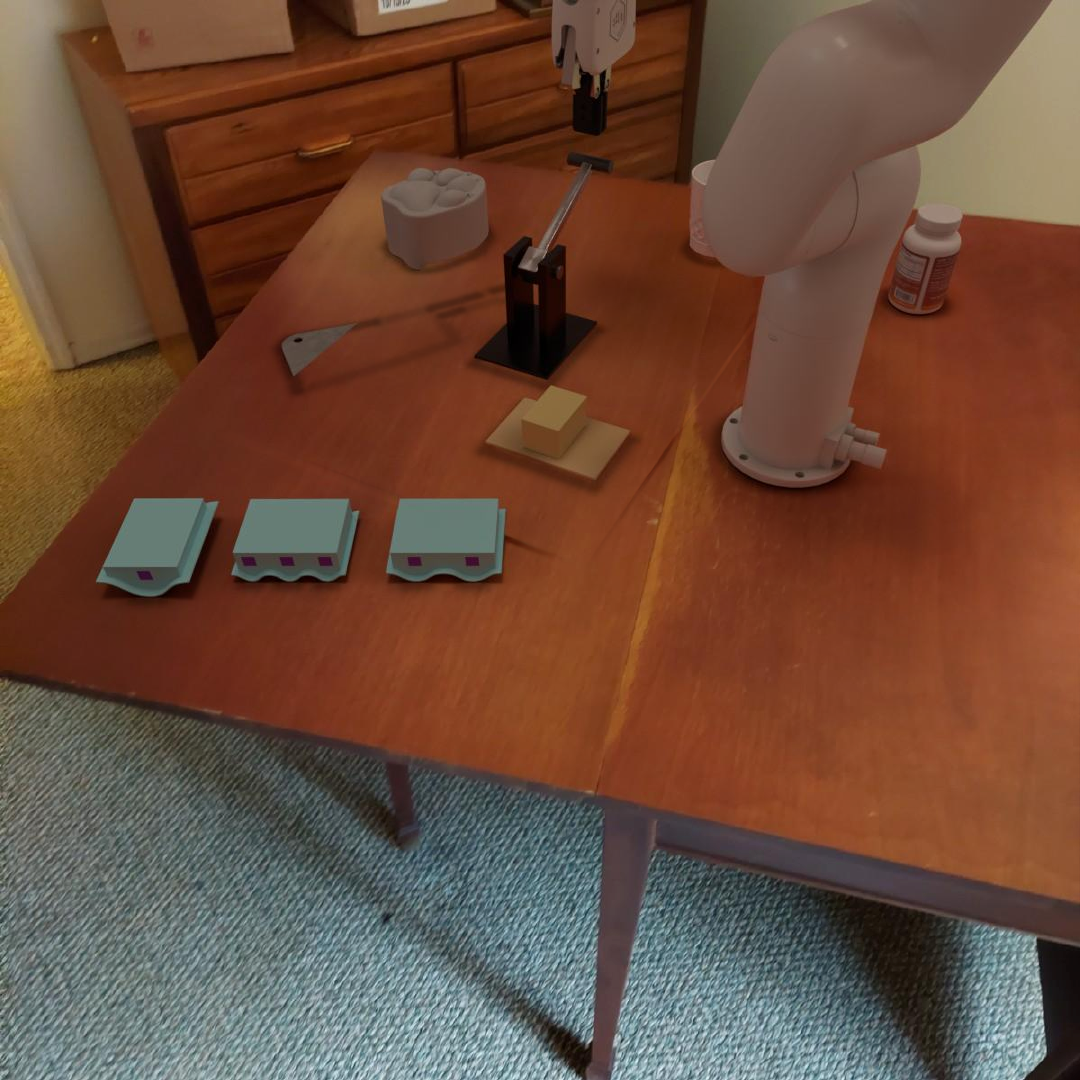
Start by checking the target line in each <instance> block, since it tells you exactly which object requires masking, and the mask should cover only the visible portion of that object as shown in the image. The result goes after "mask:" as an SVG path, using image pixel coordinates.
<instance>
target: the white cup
mask: <svg viewBox="0 0 1080 1080" xmlns="http://www.w3.org/2000/svg"><path fill="white" fill-rule="evenodd" d="M715 160H716V159H710V160H706V161H703V162H700V163H698V164H697V165H695V166H694V167H693V169H692V170H691V180H690V181H691V182H690V201H689V202H690V203H689V234H690V235H689V247H690V248H691V249H692V250H693V252H696V253H698V254H699V255H702V256H704V257H711V258H715V259H716V257H715V256H714V255H713V253H712V252H711V250H710V248H709V246H708V244H707V241H706V238H705V234H704V229H703V223H702V203H703V196H704V191H705V187H706V183H707V180H708V177H709V174H710V172H711V169H712V167H713V165H714V162H715Z"/></svg>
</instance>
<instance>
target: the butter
mask: <svg viewBox="0 0 1080 1080" xmlns="http://www.w3.org/2000/svg"><path fill="white" fill-rule="evenodd" d="M536 401H537V402H536V403H535V404H534V405H533V406H532V407H531V409H530V410H529V411H528V412H527V413H526V414H525V415H524V417H523V418H522V419H521V422H522V446H523V447H524V448H527V449H529V450H532V451H535V452H538V453H541V454H544V455H547V456H550V457H553V458H556V459H559V458H560V457H561V456H562V455H563V453H564V452H565V451H566V450H567V448H568V447H569V446H570V445H571V443H572V442H573V441H574V439H575V438H576V437H577V436H578V434H579V433H580V432H581V431H582V429H583V428H584V427H585V426H586V423H587V417H588V415H587V414H588V396H587V395H584V394H581V393H577V392H574V391H571V390H568V389H564V388H561V387H558V386H556V385H555V386H554V385H550V386H549V387H548V388H546V390H545V391H544V392H543V394H542V395H541V396H540V397H539V398H538V399H537V400H536Z"/></svg>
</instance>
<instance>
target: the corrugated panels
mask: <svg viewBox="0 0 1080 1080" xmlns="http://www.w3.org/2000/svg"><path fill="white" fill-rule="evenodd" d="M219 503H220V502H219V500H215V501H209V502H206V501H205V498H203V497H201V498H199V497H194V498H193V497H191V498H190V497H185V498H184V497H183V498H182V497H181V498H180V497H178V498H177V497H176V498H174V497H173V498H167V497H166V498H163V497H162V498H159V497H158V498H157V497H155V498H151V497H150V498H149V497H148V498H146V497H145V498H139V497H138V498H137V497H135V498H133V501H132V502H131V505H130V507H129V509H128V511H127V513H126V516H125V518H124V520H123V522H122V524H121V527H120V529H119V530H118V533H117V535H116V537H115V539H114V540H113V541H114V542H113V543H112V546H111V548H110V550H109V552H108V555H107V557H106V559H105V561H104V563H103V565H102V567H101V570H100V572H99V574H98V576H97V577H96V580H95V583H96V584H97V583H99V584H106V585H107V584H108V585H111V586H113V587H117V588H119V589H121V590H123V591H125V592H128V593H130V594H132V595H136V596H139V597H145V598H146V597H147V598H153V597H159V596H163V595H164V594H166V593H167V592H168V591H169V590H170V589H171V588H173V587H174V586H177V585H181V584H189V583H190V581H191V578H192V575H193V573H194V570H195V567H196V565H197V562H198V559H199V557H200V554H201V551H202V550H203V549H202V548H203V546H204V543H205V541H206V538H207V535H208V532H209V530H210V527H211V525H212V523H213V522H212V521H213V519H214V516H215V513H216V510H217V508H218V506H219ZM506 512H507V509H506V508H500V503H499V498H399V502H398V507H397V508H396V515H395V519H394V526H393V531H392V537H391V542H390V548H389V554H388V559H387V565H386V569H385V574H387V575H394V576H397V577H398V578H399V577H400V578H401V579H402V580H403V579H404V580H405V581H409V582H413V583H414V582H415V583H416V582H418V583H419V582H424V581H426V580H428V579H430V578H433V576H438V575H451V576H454V577H457V578H459V580H462V581H466V582H473V583H475V582H479V581H480V582H481V581H483V580H485V579H487V578H489V577H491V576H493V575H502V574H503V573H502V572H503V558H504V556H503V555H504V544H505V543H504V542H505V528H506V527H505V524H506ZM359 516H360V510H354V511H353V510H352V506H351V501H350V498H250V499H249V502H248V506H247V508H246V511H245V514H244V518H243V521H242V523H241V526H240V529H239V533H238V536H237V539H236V541H235V544H234V547H233V550H232V555H233V558H234V564H233V568H232V571H231V574H230V576H232V577H233V576H235V577H238V578H240V579H243V580H245V581H247V582H251V583H252V582H258V581H260V580H261V579H262V578H264V577H268V576H269V577H270V576H272V577H276V578H278V579H280V580H282V581H284V582H288V583H290V582H291V583H292V582H295V581H298V580H299V579H300V578H302V577H305V576H307V577H308V576H309V577H313V578H316V579H318V580H320V581H321V582H327V583H328V582H333V581H336V579H338V578H339V577H342V576H343V577H344V576H346V575H347V571H348V565H349V561H350V556H351V552H352V548H353V543H354V538H355V534H356V530H357V524H358V521H359Z"/></svg>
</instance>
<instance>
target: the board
mask: <svg viewBox="0 0 1080 1080" xmlns="http://www.w3.org/2000/svg"><path fill="white" fill-rule="evenodd" d="M537 401H538V400H535V399H532V398H529V397H526V396H524V397H523V399H521V401H520V402H519V403H517V405H516V406H515V407H514V408H513V410H512V411H511V412H509V414H508V415H507V416H506V417H505V419H504V420H503V421H502V422H501V423H500V424H499V425H498V426H497V427H496V429H494V431H493V432H492V433H491V434H490V435H489V436H488V438H487V439H486V440H485V445H488V446H491V447H493V448H496V449H500V450H502V451H506V452H509V453H512V454H514V455H517V456H520V457H522V458H526V459H530V460H532V461H536V462H537V463H541V464H544V465H546V466H549V467H552V468H555V469H558V470H561V471H563V472H568V473H569V474H573V475H576V476H579V477H582V478H584V479H588V480H591V481H594V482H596V480H597V479H598V478H599V477H600V476H601V474H602V473H603V472H604V469H606V468H607V466H608V464H609V463H610V462H611V460H612V459H613V458H614V456H615V455H616V454H617V452H618V451H619V449H620V448H621V447H622V446H623V444H624V443H625V442H626V440H627V438H628V437H629V436H630V434H631V431H632V430H630V429H626V428H624V427H620V426H617V425H614V424H611V423H608V422H604V421H601V420H598V419H595V418H592V417H589V416H587V423H586V426H585V427H584V428H583V429H582V431H581V432H580V433H579V434H578V436H577V437H576V438H575V439H574V441H573V442H572V443H571V445H570V446H569V447H568V448H567V450H566V451H565V452H564V453H563V455H562V456H561V457H560V458H559V459H556V458H553V457H550V456H547V455H544V454H541V453H538V452H535V451H532V450H529V449H527V448H524V447H523V446H522V422H521V419H522V418H523V417H524V415H525V414H526V413H527V412H528V411H529V410H530V409H531V407H532V406H533V405H534V404H535V403H536V402H537Z"/></svg>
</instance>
